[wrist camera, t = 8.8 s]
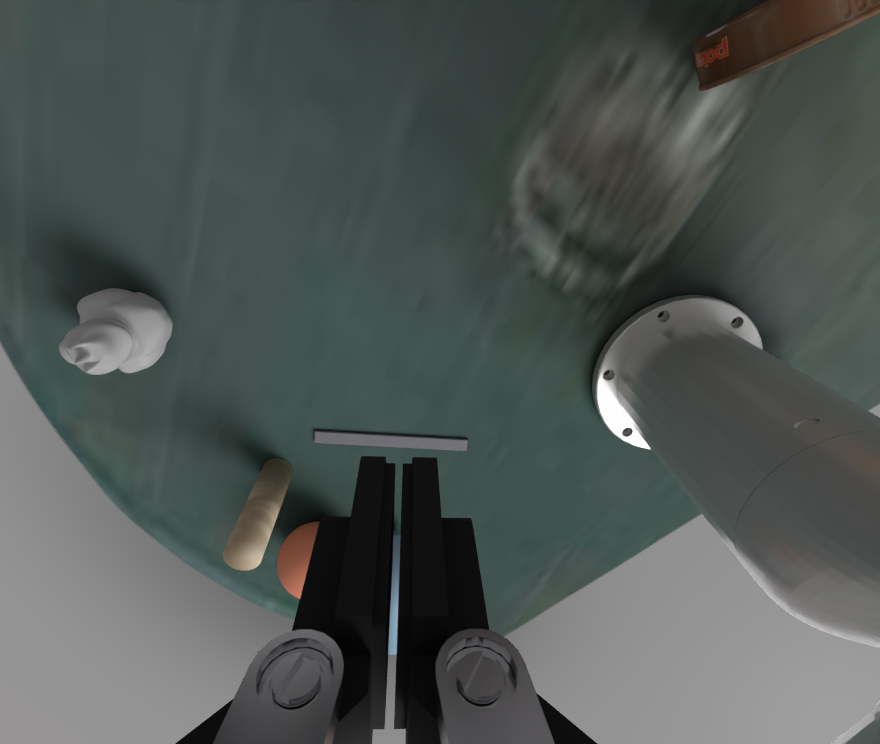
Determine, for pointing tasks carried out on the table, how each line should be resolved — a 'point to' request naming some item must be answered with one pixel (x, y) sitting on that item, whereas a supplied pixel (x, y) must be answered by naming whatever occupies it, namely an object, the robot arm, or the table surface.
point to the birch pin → (258, 516)
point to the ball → (296, 557)
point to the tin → (772, 35)
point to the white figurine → (117, 332)
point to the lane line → (390, 440)
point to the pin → (394, 595)
